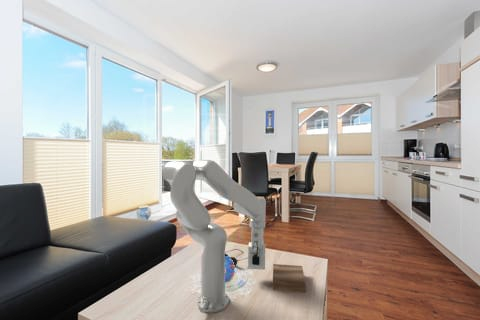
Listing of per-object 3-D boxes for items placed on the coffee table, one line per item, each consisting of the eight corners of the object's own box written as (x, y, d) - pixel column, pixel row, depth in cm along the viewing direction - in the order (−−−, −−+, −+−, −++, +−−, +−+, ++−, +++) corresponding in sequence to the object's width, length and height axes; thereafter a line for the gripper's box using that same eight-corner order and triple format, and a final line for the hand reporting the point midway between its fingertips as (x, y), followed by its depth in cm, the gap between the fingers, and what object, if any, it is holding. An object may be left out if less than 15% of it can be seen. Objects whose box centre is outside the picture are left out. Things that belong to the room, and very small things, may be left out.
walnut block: (305, 293, 97) (305, 281, 97) (272, 290, 99) (272, 279, 99) (302, 276, 111) (302, 265, 111) (273, 273, 113) (273, 263, 113)
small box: (264, 264, 109) (265, 242, 109) (265, 270, 104) (265, 247, 104) (248, 263, 110) (248, 241, 110) (247, 268, 104) (248, 246, 104)
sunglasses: (220, 260, 128) (221, 251, 128) (241, 253, 139) (241, 245, 139) (236, 269, 118) (237, 259, 118) (258, 261, 128) (258, 252, 128)
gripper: (263, 229, 98) (263, 271, 98) (266, 219, 115) (265, 254, 114) (246, 227, 99) (245, 269, 99) (251, 218, 116) (251, 253, 116)
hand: (256, 261), depth 107 cm, fingers closed on small box, 5 cm apart
